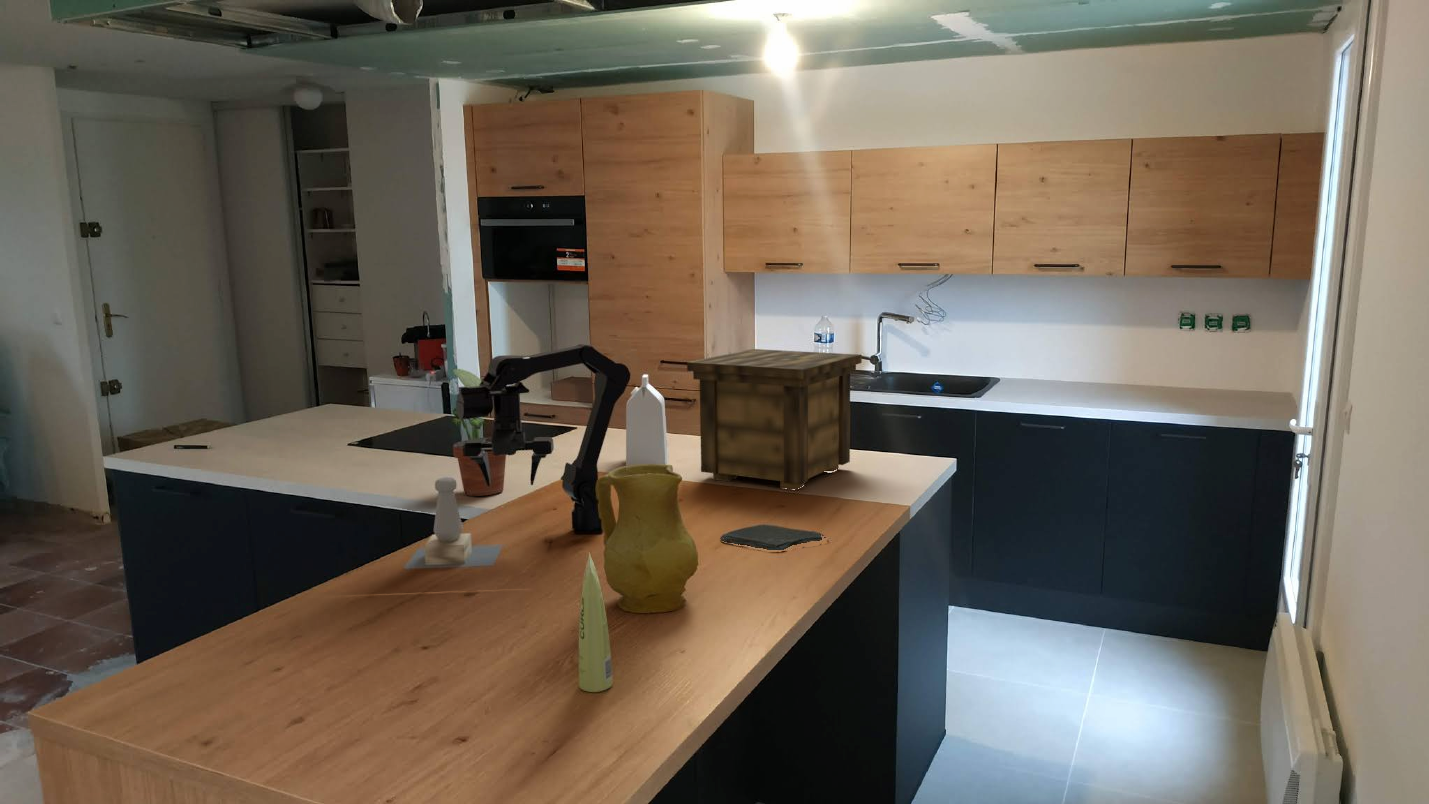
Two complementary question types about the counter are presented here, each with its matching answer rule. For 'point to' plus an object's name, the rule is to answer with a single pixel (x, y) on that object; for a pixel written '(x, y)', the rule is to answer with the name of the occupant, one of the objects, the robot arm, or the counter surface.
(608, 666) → the tube
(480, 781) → the counter surface
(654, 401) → the milk
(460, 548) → the beech block
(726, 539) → the stone slab
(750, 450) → the crate
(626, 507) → the pitcher
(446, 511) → the salt shaker
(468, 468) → the potted plant
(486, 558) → the mat
